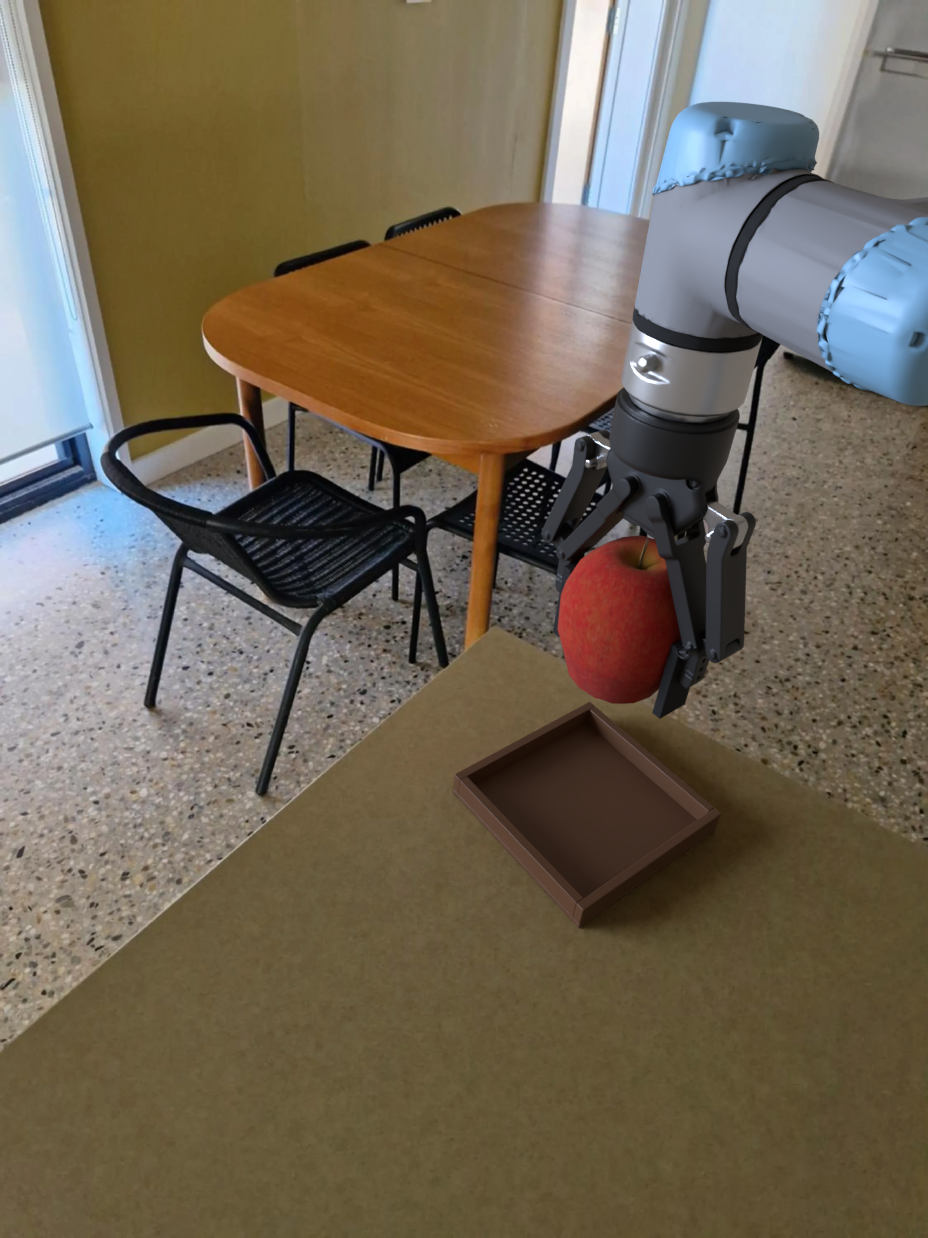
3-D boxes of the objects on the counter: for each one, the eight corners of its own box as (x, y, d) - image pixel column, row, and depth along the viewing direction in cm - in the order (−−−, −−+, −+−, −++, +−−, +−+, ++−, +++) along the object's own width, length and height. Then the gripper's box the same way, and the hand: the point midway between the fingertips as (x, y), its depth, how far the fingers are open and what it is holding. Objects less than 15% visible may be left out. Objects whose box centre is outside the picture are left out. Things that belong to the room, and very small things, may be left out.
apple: (564, 631, 74) (590, 486, 65) (684, 662, 72) (727, 517, 63) (532, 712, 66) (556, 561, 58) (665, 750, 64) (711, 599, 56)
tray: (714, 831, 78) (722, 813, 77) (578, 928, 70) (583, 910, 68) (585, 719, 88) (589, 701, 87) (452, 792, 80) (454, 774, 78)
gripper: (513, 342, 59) (485, 605, 73) (797, 497, 45) (696, 783, 59) (594, 323, 63) (553, 576, 77) (878, 460, 49) (766, 737, 63)
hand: (616, 666), depth 68 cm, fingers closed on apple, 10 cm apart
